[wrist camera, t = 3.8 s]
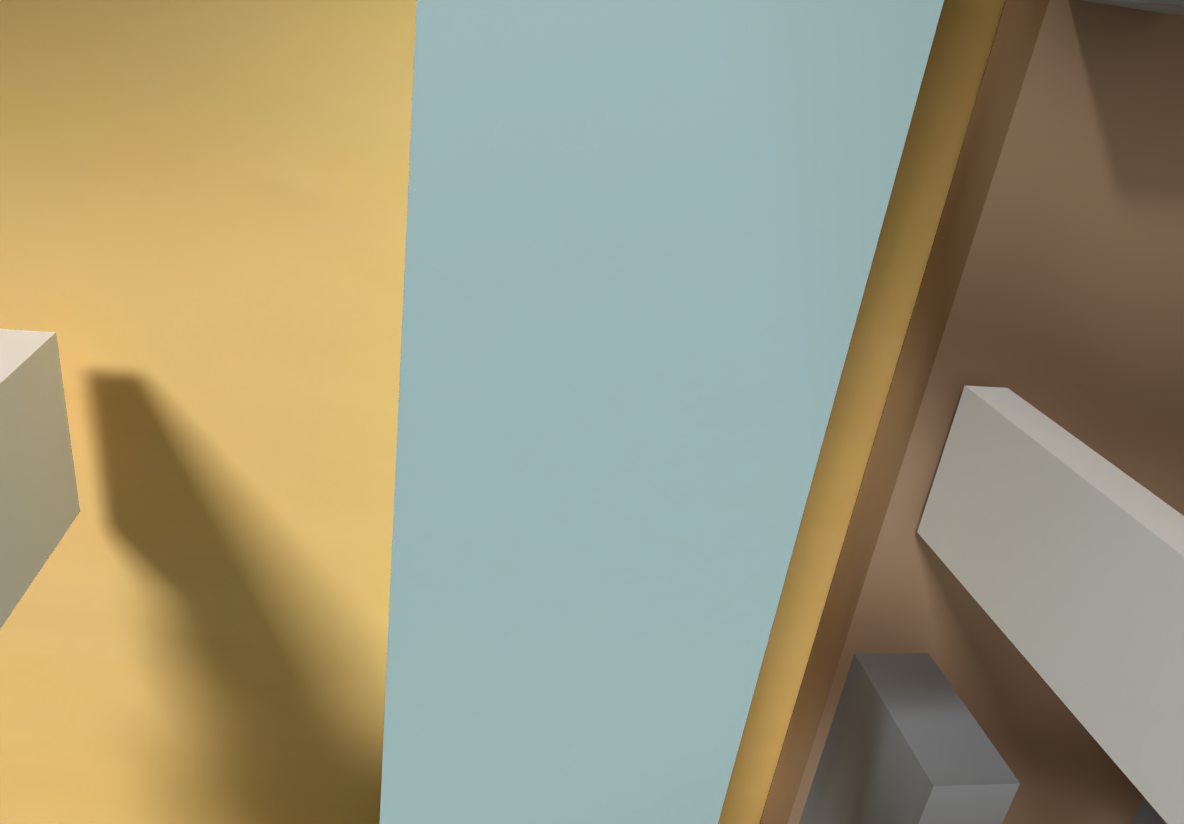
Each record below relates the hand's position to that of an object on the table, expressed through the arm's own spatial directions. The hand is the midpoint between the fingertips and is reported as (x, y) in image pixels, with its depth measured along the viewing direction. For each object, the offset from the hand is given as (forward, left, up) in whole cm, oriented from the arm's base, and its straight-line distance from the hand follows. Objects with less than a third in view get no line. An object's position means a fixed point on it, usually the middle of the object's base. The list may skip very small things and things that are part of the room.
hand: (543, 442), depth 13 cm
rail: (0, 0, -1) cm, 1 cm away
